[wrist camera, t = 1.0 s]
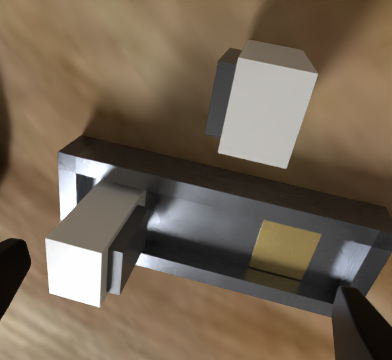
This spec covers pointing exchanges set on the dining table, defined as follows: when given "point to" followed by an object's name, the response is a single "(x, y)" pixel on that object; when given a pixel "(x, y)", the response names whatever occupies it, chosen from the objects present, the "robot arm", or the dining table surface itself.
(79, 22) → the dining table surface
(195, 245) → the grey rectangular tray
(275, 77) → the block
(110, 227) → the block
